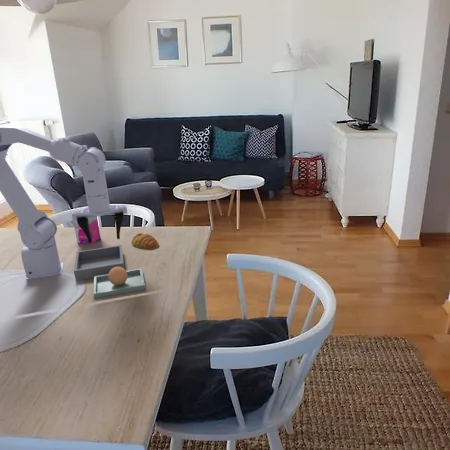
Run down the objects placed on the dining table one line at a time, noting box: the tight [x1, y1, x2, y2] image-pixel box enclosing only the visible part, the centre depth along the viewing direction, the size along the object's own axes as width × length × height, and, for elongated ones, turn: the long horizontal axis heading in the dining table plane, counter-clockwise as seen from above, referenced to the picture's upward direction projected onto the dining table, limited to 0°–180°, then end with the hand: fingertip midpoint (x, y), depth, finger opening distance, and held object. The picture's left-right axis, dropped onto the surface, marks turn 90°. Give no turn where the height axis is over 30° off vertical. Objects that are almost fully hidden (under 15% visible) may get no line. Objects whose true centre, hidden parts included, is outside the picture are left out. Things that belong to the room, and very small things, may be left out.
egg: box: [108, 267, 128, 285], centre depth 110 cm, size 5×5×5 cm
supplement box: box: [72, 207, 102, 245], centre depth 139 cm, size 6×6×12 cm
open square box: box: [73, 244, 125, 281], centre depth 122 cm, size 13×13×4 cm
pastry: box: [131, 232, 159, 250], centre depth 135 cm, size 9×7×4 cm
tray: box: [92, 268, 146, 299], centre depth 111 cm, size 13×10×2 cm
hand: (104, 239), depth 117 cm, fingers open, 7 cm apart
